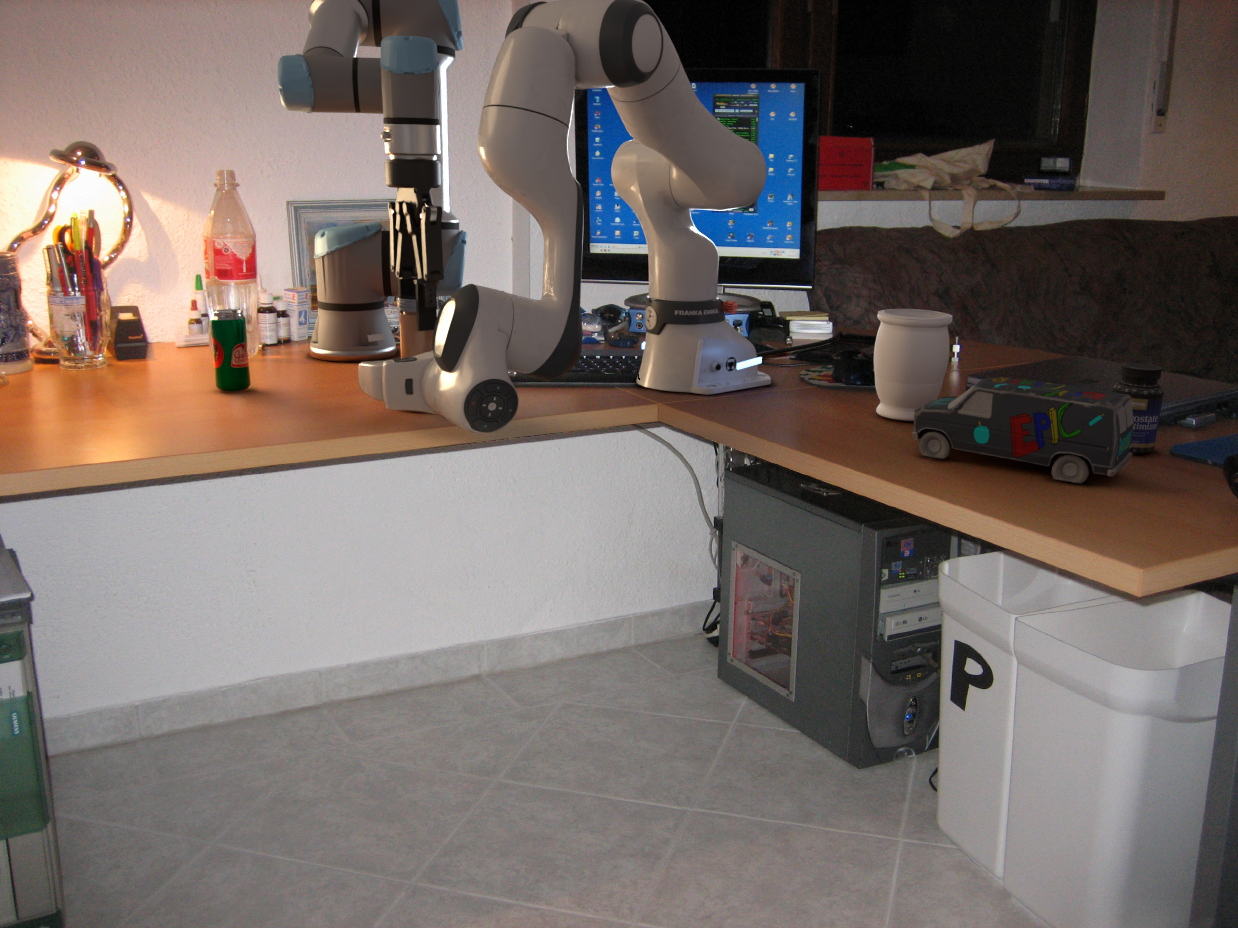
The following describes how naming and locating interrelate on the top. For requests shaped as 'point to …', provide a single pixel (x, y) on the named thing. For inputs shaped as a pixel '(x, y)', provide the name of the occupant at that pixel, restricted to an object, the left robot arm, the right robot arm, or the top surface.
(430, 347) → the screw-top jar
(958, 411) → the toy van
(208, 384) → the top surface
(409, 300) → the lid
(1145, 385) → the pill bottle
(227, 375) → the soda can
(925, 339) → the jar
